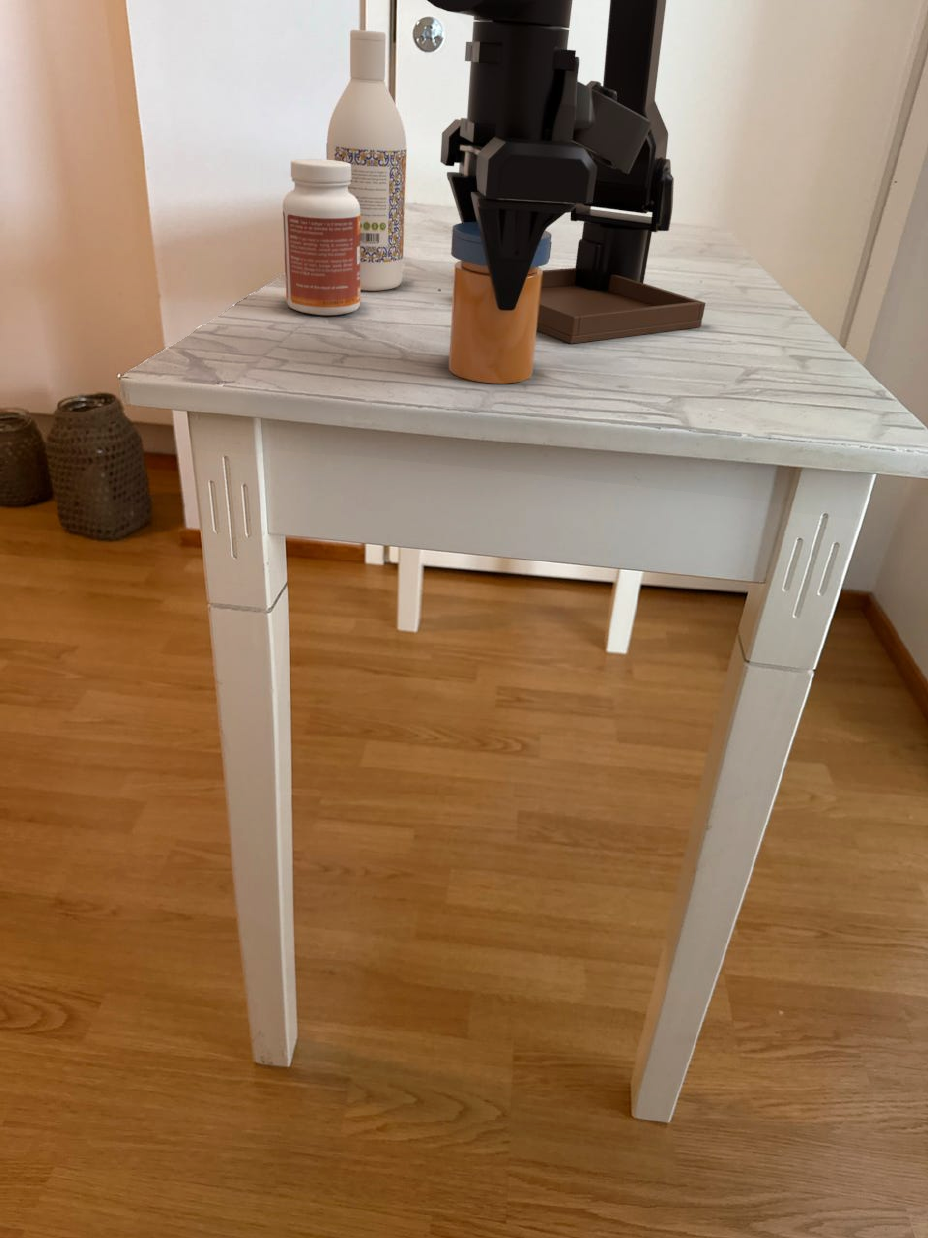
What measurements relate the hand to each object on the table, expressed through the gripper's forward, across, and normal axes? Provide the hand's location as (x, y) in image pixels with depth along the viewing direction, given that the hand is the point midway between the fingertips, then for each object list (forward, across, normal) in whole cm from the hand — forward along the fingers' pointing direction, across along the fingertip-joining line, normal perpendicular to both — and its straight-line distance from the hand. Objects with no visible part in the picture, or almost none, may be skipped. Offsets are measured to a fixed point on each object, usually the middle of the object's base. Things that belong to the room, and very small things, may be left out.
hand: (496, 298), depth 61 cm
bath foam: (+5, +26, +7) cm, 28 cm away
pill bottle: (+5, +17, +11) cm, 21 cm away
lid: (-4, 0, 0) cm, 4 cm away
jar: (+5, 0, 0) cm, 5 cm away
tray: (+5, +18, -12) cm, 22 cm away
